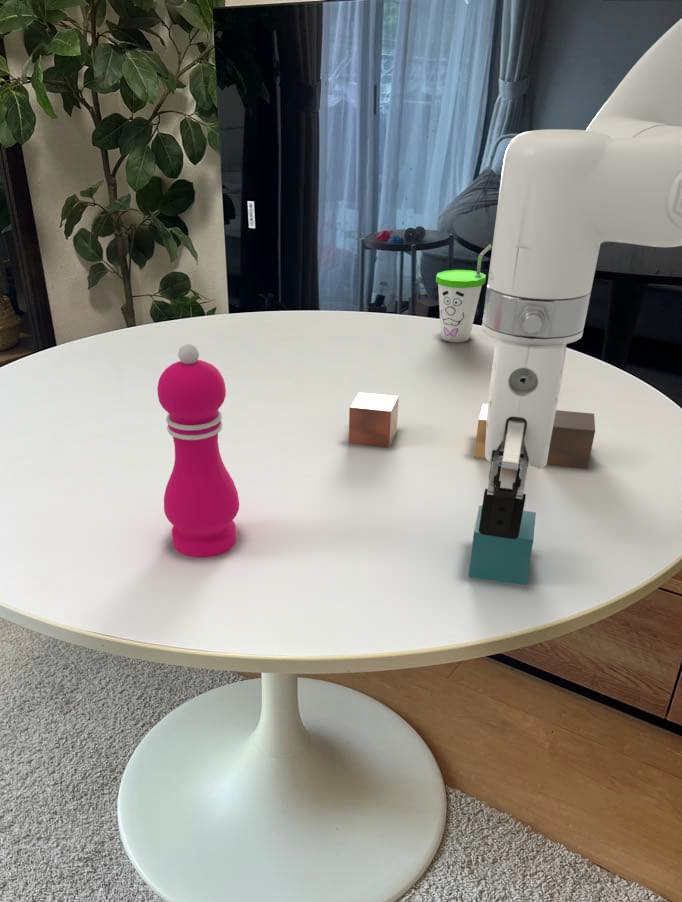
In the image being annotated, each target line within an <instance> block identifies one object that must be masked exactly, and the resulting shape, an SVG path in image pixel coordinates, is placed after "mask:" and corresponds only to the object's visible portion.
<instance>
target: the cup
mask: <svg viewBox="0 0 682 902" xmlns="http://www.w3.org/2000/svg"><path fill="white" fill-rule="evenodd" d="M492 246H493V245H492V244H491V243H489V244H488V245H487V246H486V247H485V248H484V249H483V250H482V251H481V252H480V253H479V255H478V257H477V265H476V270H470V269H450V270H443V271H440V272H437V273H436V275H435V283H436V284H437V287H438V288H437V289H438V307H439V308H438V309H439V326H440V339H441V340H443V341H446V342H449V343H450V342H451V343H462V342H463V343H464V342H466V341H470V337H471V332H472V328H473V324H474V321H475V316H476V312H477V308H478V304H479V299H480V295H481V291H482V287H483V285H485V284H486V278H487V275H486V274H485V273H483V272H481V267H482V259H483V258H484V257H483V256H484V255H485V254H486V253H487V252H489V251H490V250H491V249H492Z"/></svg>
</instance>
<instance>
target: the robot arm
mask: <svg viewBox="0 0 682 902" xmlns="http://www.w3.org/2000/svg"><path fill="white" fill-rule="evenodd" d="M506 147H507V148H506V150H505V153H504V157H503V162H502V163H503V164H502V169H501V177H500V186H499V191H498V199H497V208H496V215H495V224H494V231H493V239H492V245H491V246H492V248H491V255H490V263H489V268H488V269H489V271H488V279H487V285H486V292H485V300H484V307H483V315H482V316H483V317H482V323H481V330H482V331H483V332H484V333H485V334H486V335H487V336H490V337H492V338H493V339H495V344H494V351H493V359H492V365H491V366H492V367H491V374H490V383H489V390H488V402H487V404H488V411H487V424H486V442H485V458H484V459H486V460H487V461H488V462H489V463H490V467H489V474H488V485H487V488H484V492H483V499H482V505H481V506H482V512H481V518H480V525H479V532H480V534H483V535H489V536H496V537H502V538H509V539H516V538H518V536H519V531H520V526H521V520H522V515H523V511H524V509H525V503H526V499H527V494H526V493H524V491H525V487H526V486H525V485H526V479H527V473H528V467H529V465H530V466H531V467H537V470H538V469H539V470H541V469H544V468H545V467H546V466H548V465H547V459H548V453H549V447H550V441H551V435H552V430H553V424H554V419H555V414H556V410H557V408H558V404H559V403H558V402H559V396H560V391H561V387H562V380H563V374H564V368H565V367H564V366H565V360H566V352H567V345H568V344H572V343H574V342H577V341H578V340H581V339H582V337H583V334H584V330H585V329H584V328H585V325H586V319H587V315H588V310H589V305H590V300H591V295H592V288H593V283H594V278H595V275H596V268H597V264H598V259H599V258H598V257H599V254H600V248H601V244H602V243H606V242H612V243H621V244H630V245H637V246H645V247H654V248H676V247H682V18H680V19H679V20H678V21H676V22H675V24H673V25H672V26H671V27H670V28H669V29H668V30H666V32H664V33H663V35H662V36H660V37H659V38H658V40H656V42H654V43H653V44H652V45H651V46H650V47H649V49H647V51H646V52H645V53H644V54H643V55H642V56H641V57H640V58H639V59H638V60H637V62H636V63H635V64H634V65H633V66H632V68H631V69H630V70H629V71H628V72H627V74H626V75H625V76H624V77H623V79H622V80H621V81H620V83H619V84H618V85H617V86H616V87H615V89H614V90H613V92H612V93H611V95H610V96H609V97H608V98H607V100H606V101H605V102H604V103H603V105H602V107H601V108H600V109H599V110H598V112H597V113H596V115H595V116H594V118H593V119H592V120H591V122H590V123H589V124H588V126H587V127H586V130H585V129H564V128H562V129H561V128H560V129H559V128H557V129H556V128H555V129H554V128H553V129H551V128H550V129H535V130H529V131H524V132H522V133H519V134H518V135H516V136H515V137H513V138H512V139H511V140H510V142H509V143H508V146H506Z"/></svg>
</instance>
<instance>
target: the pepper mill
mask: <svg viewBox="0 0 682 902" xmlns="http://www.w3.org/2000/svg"><path fill="white" fill-rule="evenodd" d="M177 355H178V359H179V361H176V362H173V363H172V364H170V365H168V366H167V368H165V369H164V371H163V372H162V373H161V375H160V376H159V379H158V383H157V397H158V401H159V404H160V406H161V407H162V408H163V410H164V411H165V412H167V413H168V414H167V416H166V418H165V421H166V423H167V428H166V430H167V433H168V434H169V435H170V436H172V439H173V443H174V463H173V467H172V471H171V474H170V476H169V479H168V481H167V483H166V485H165V491H164V495H163V512H164V515H165V517H166V519H167V521H168V522H169V523H170V524H171V525H172V527H171V537H172V545H173V548H174V549H175V550H176V551H177V552H178V553H179V554H181V555H183V556H187V557H191V558H211V557H216V556H220V555H223V554H224V553H226V552H228V551H230V550H232V548H233V547H234V546H235V545H236V542H237V527H236V526H237V525H236V523H235V522H234V520H235V518H236V517H237V515H238V512H239V510H240V498H239V492H238V490H237V487H236V485H235V484H236V483H235V481H234V480H233V478H232V476H231V475H230V473H229V471H228V469H227V468H226V466H225V464H224V461H223V458H222V456H221V453H220V447H219V433H220V432H221V431H222V430H223V427H224V426H223V425H224V424H223V422H222V419H223V414H222V412H221V411H220V410H219V409H220V408H221V407H222V405H223V404H224V402H225V399H226V396H227V389H226V388H227V387H226V382H225V379H224V377H223V375H222V373H221V371H220V370H219V369H218V368H217V367H216V366H215V365H213V364H211V363H209V362H207V361H206V360H201V359H199V358H200V352H199V350H198V348H197V347H196V345H194V344H192V343H186V344H182V346H180V348H179V349H178V353H177Z"/></svg>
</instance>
